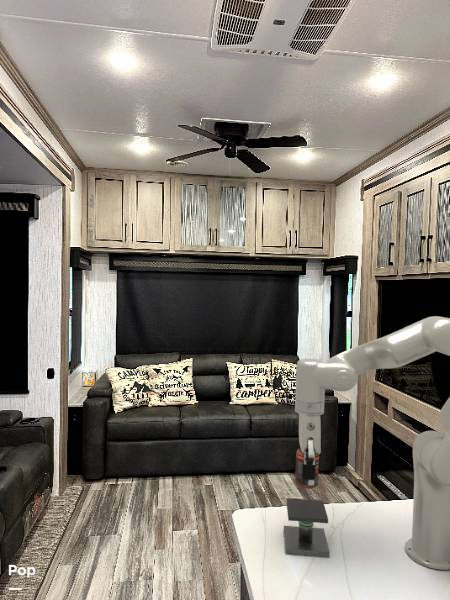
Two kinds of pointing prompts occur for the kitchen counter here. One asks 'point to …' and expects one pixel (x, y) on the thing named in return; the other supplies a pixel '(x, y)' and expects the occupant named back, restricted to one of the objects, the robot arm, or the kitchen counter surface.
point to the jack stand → (306, 528)
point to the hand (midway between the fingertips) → (307, 473)
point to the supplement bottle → (298, 477)
